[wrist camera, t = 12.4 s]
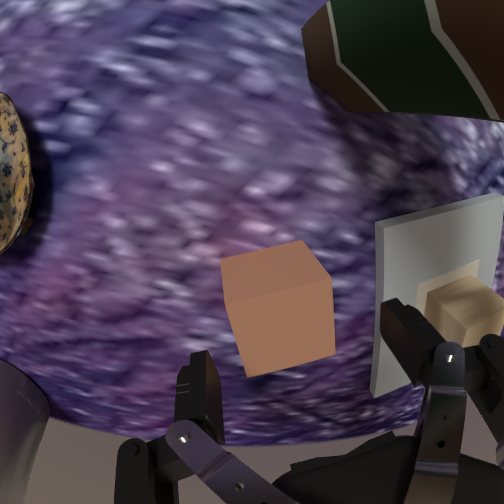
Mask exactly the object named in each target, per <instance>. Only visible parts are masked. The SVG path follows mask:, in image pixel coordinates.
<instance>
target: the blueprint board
mask: <svg viewBox="0 0 504 504" xmlns="http://www.w3.org/2000/svg"><path fill="white" fill-rule="evenodd" d="M503 210H504V196H502V195H500V194H497V193H491V194H487V195H483V196H479V197H475V198H471V199H466V200H462V201H458V202H454V203H450V204H446V205H442V206H438V207H434V208H430V209H426V210H422V211H418V212H414V213H409V214H405V215H401V216H397V217H393V218H389V219H385V220H381V221H377V222H374V223H375V249H376V301H375V327H374V344H373V357H372V369H371V379H370V388H369V390H370V392H371V394H372V395H373V397H374V398H376V397H378V396H381V395H383V394H386V393H388V392H391V391H393V390H395V389H398V388H400V387H402V386H404V385H407V384H409V383H411V381H410V379H409V378H408V376H407V375H406V373H405V371H404V370H403V368H402V367H401V365H400V364H399V362H398V361H397V359H396V358H395V356H394V355H393V353H392V352H391V350H390V349H389V347H388V346H387V345H386V343H385V342H384V340H383V338H382V336H381V333H380V305H381V303H382V302H384V301H387V300H390V299H393V298H398V299H399V300H400V301H401V302H402V303H403V305H404V306H405V305H408V304H409V305H411V306H413V307H415V308H417V309H418V310H419V311H420V312H421V313H422V314H423V315H424V313H425V306H426V298H427V292H429V291H432V290H434V289H437V288H439V287H441V286H444V285H446V284H448V283H451V282H453V281H455V280H458V279H460V278H462V277H464V276H467V275H469V274H472V275H473V276H474V277H476V278H477V279H478V280H480V281H481V282H482V283H484V284H485V285H486V286H488V287H489V288H490V289H491V288H492V283H493V278H494V274H495V268H496V263H497V257H498V251H499V245H500V238H501V230H502V221H503Z"/></svg>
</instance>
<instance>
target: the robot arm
mask: <svg viewBox="0 0 504 504" xmlns="http://www.w3.org/2000/svg"><path fill="white" fill-rule="evenodd" d="M380 333H381V336H382V338H383V340H384V342H385V343H386V345H387V346H388V347H389V349H390V350H391V352H392V353H393V355H394V356H395V358H396V359H397V361H398V362H399V364H400V365H401V367H402V368H403V370H404V371H405V373H406V375H407V376H408V378H409V379H410V381H411V382H412V384H413V385H414V387H416V386H418V385H421V384H423V385H424V387H425V389H424V394H423V399H422V404H421V409H420V414H419V418H418V423H417V427H416V430H415V433H414V436H406V435H405V436H404V435H403V436H395V435H394V433H393V431H390V432H388V433H385V434H383V435H381V436H378V437H376V438H373V439H370V440H368V441H367V442H365V443H364V444H362V445H360V446H359V447H357V448H356V449H354V450H352V451H351V452H349V453H347V454H345V455H341V456H330V457H316V458H313V459H309V460H305V461H302V462H298V463H293V464H291V465H290V466H291V471H289V472H287V473H285V474H283V475H282V476H281V477H279V478H278V479H276V480H275V481H274V482H273V483H272V484H271V483H269V482H268V481H267V480H265V479H264V478H263V477H261V476H260V475H259V474H257V473H256V472H255V471H253V470H252V469H251V468H250V467H248V466H247V465H246V464H244V463H243V462H242V461H241V460H239V459H238V458H237V457H236V456H235V455H233V454H232V453H230V452H227V451H225V450H224V449H223V448H222V447H221V446H220V444H225V436H224V423H223V409H222V394H221V382H220V377H219V374H218V371H217V369H216V367H215V365H214V363H213V360H212V358H211V356H210V354H209V352H208V350H204V351H200V352H195V353H191V355H190V365H188V366H182V368H181V370H180V372H179V374H178V375H177V387H176V399H175V413H174V423H173V424H172V425H171V426H170V427H169V428H168V430H167V432H166V434H165V435H164V436H162V437H160V438H157V439H155V440H152V441H149V442H147V443H145V442H144V441H143V440H141V439H138V438H132V439H129V440H127V441H125V442H124V443H123V444H122V445H121V446H120V448H119V450H118V455H117V466H116V478H115V493H114V504H179V495H178V481H179V480H181V479H184V478H187V477H189V476H192V475H194V474H196V475H197V476H198V477H199V478H200V479H201V480H202V481H203V482H204V483H205V484H206V485H207V486H208V487H209V488H210V489H211V490H212V491H213V492H214V493H215V494H217V496H219V498H221V499H222V500H223V501H224V502H225V503H226V504H504V339H503V338H502V337H500V336H498V335H496V334H487V335H484V336H483V337H482V338H481V339H480V342H479V345H475V346H470V347H464V348H463V347H462V346H461V345H459V344H458V343H455V342H447V341H446V340H445V339H444V338H443V337H442V336H441V334H440V333H439V332H438V331H437V330H436V329H435V328H434V326H433V325H432V324H431V323H430V322H429V321H428V320H427V319H426V318H425V317H424V315H423V314H422V313H421V312H420V311H419V310H418V309H417V308H415V307H413V306H411V305H409V304H408V305H405V306H404V305H403V303H402V302H401V301H400V300H399V299H398V298H393V299H390V300H387V301H384V302H382V303H381V305H380ZM467 393H468V394H469V396H470V397H471V399H472V400H473V402H474V404H475V405H476V407H477V409H478V410H479V412H480V414H481V415H482V417H483V418H484V420H485V422H486V424H487V425H488V427H489V429H490V431H491V432H492V434H493V436H494V438H495V439H496V441H497V443H498V445H497V448H496V457H497V458H496V462H497V463H498V466H497V465H495V464H492V463H488V462H485V461H482V460H479V459H476V458H473V457H470V456H467V455H464V454H462V453H460V449H461V443H462V436H463V429H464V421H465V412H466V399H467ZM50 412H51V409H50V405H49V403H48V401H47V399H46V397H45V396H44V394H43V393H42V391H41V390H40V389H39V388H38V387H37V386H36V385H35V384H34V383H33V382H32V381H31V380H30V379H29V378H28V377H27V376H25V375H24V374H23V373H22V372H20V371H19V370H18V369H16V368H15V367H13V366H12V365H10V364H8V363H6V362H4V361H2V360H0V504H23V503H24V499H25V495H26V491H27V487H28V483H29V479H30V475H31V472H32V468H33V465H34V461H35V458H36V455H37V451H38V448H39V445H40V442H41V439H42V436H43V433H44V430H45V427H46V424H47V422H48V419H49V416H50Z"/></svg>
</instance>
